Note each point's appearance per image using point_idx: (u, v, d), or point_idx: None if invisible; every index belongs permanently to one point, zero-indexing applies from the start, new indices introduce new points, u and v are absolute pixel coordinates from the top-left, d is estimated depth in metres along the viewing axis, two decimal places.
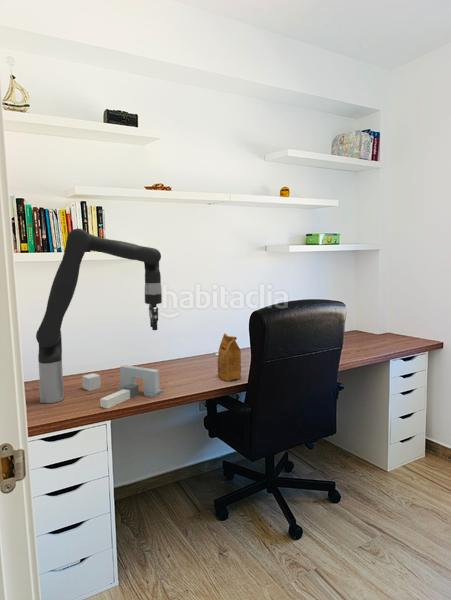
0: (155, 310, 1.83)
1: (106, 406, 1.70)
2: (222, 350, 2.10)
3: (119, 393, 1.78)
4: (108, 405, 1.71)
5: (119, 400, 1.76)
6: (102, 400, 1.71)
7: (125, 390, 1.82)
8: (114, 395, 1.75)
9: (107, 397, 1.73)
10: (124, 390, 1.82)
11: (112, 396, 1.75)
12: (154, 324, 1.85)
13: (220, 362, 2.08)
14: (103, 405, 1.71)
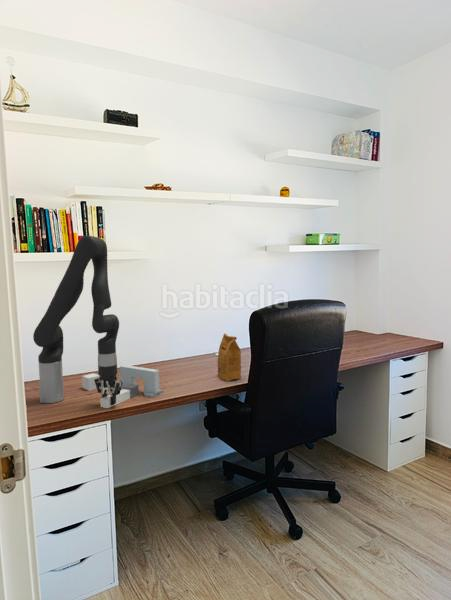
0: None
1: (106, 406, 1.70)
2: (222, 350, 2.10)
3: None
4: (108, 405, 1.71)
5: (119, 399, 1.76)
6: (102, 400, 1.71)
7: (125, 390, 1.82)
8: None
9: (107, 397, 1.73)
10: (124, 390, 1.82)
11: None
12: None
13: (220, 362, 2.08)
14: (103, 405, 1.71)
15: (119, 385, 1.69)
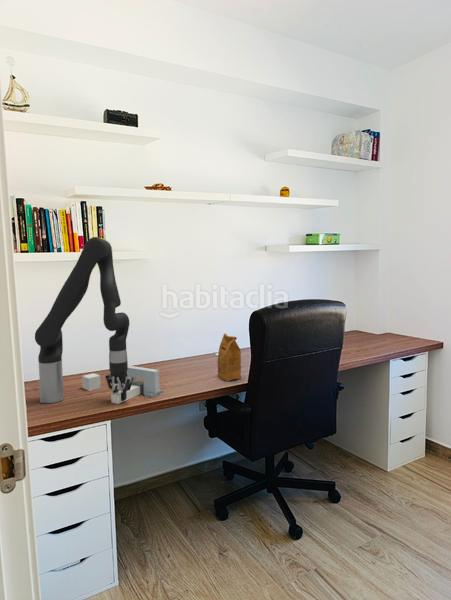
0: None
1: (117, 401, 1.76)
2: (222, 350, 2.10)
3: None
4: (119, 400, 1.76)
5: (129, 395, 1.81)
6: (113, 395, 1.76)
7: (135, 386, 1.87)
8: None
9: (118, 393, 1.78)
10: (134, 386, 1.87)
11: None
12: None
13: (220, 362, 2.08)
14: (114, 400, 1.76)
15: (129, 381, 1.74)
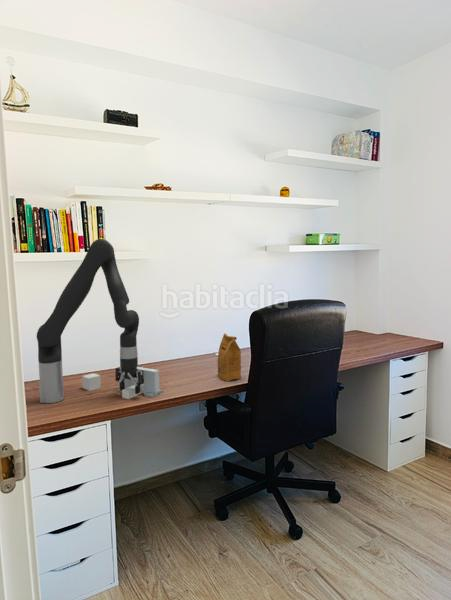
0: None
1: (127, 397, 1.82)
2: (222, 350, 2.10)
3: None
4: (129, 396, 1.82)
5: None
6: (124, 391, 1.82)
7: None
8: (134, 386, 1.87)
9: (128, 388, 1.84)
10: None
11: (132, 387, 1.86)
12: None
13: (220, 362, 2.08)
14: (125, 396, 1.82)
15: (140, 373, 1.80)
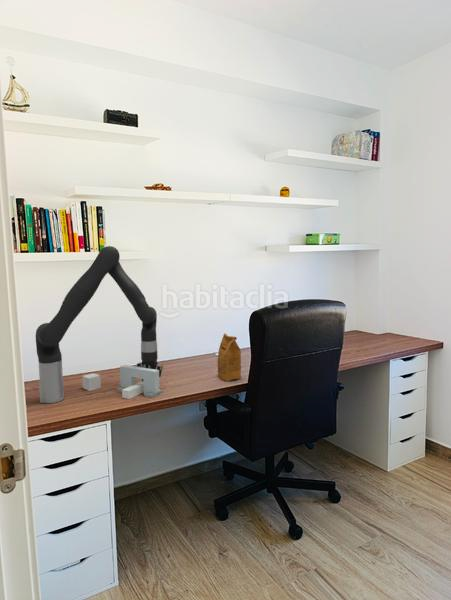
0: None
1: (127, 396, 1.82)
2: (222, 350, 2.10)
3: (139, 385, 1.89)
4: (129, 395, 1.82)
5: (139, 391, 1.87)
6: (124, 391, 1.82)
7: None
8: (134, 386, 1.87)
9: (128, 388, 1.84)
10: None
11: (132, 387, 1.86)
12: None
13: (220, 362, 2.08)
14: (125, 395, 1.82)
15: (160, 368, 1.93)
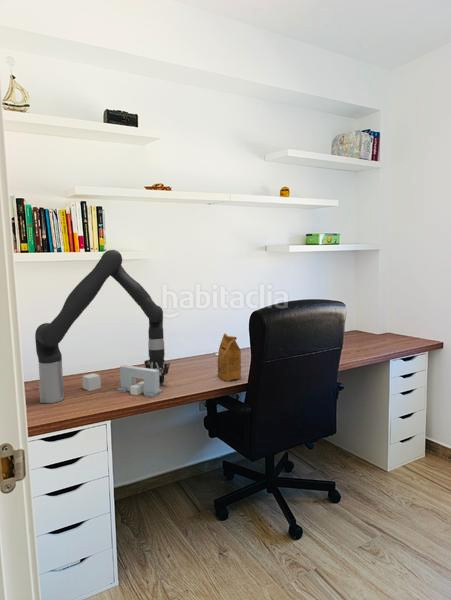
0: None
1: (136, 393, 1.86)
2: (222, 350, 2.10)
3: None
4: (137, 392, 1.86)
5: None
6: (132, 387, 1.87)
7: None
8: (142, 383, 1.91)
9: (136, 385, 1.89)
10: None
11: (140, 384, 1.90)
12: None
13: (220, 362, 2.08)
14: (133, 392, 1.87)
15: (167, 365, 1.97)
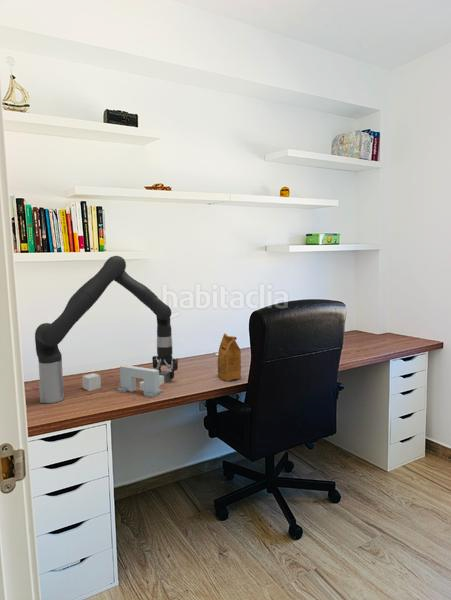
0: None
1: None
2: (222, 350, 2.10)
3: None
4: None
5: None
6: (141, 384, 1.92)
7: (160, 375, 2.03)
8: None
9: None
10: (159, 375, 2.03)
11: None
12: None
13: (220, 362, 2.08)
14: (142, 388, 1.92)
15: (175, 361, 2.03)
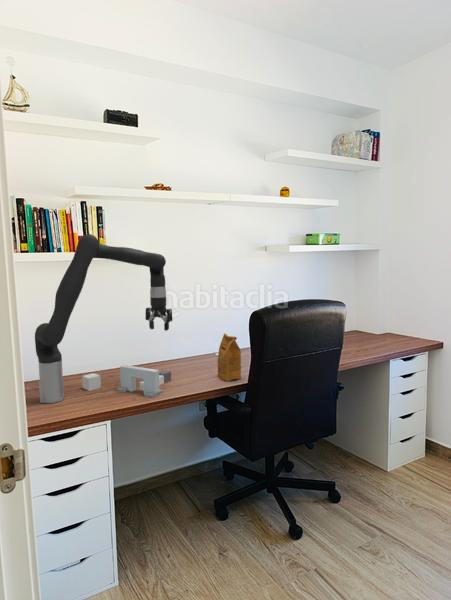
0: None
1: None
2: (222, 350, 2.10)
3: None
4: None
5: None
6: (141, 384, 1.92)
7: (160, 375, 2.03)
8: None
9: None
10: (159, 375, 2.03)
11: None
12: None
13: (220, 362, 2.08)
14: (142, 388, 1.92)
15: (169, 311, 1.97)
